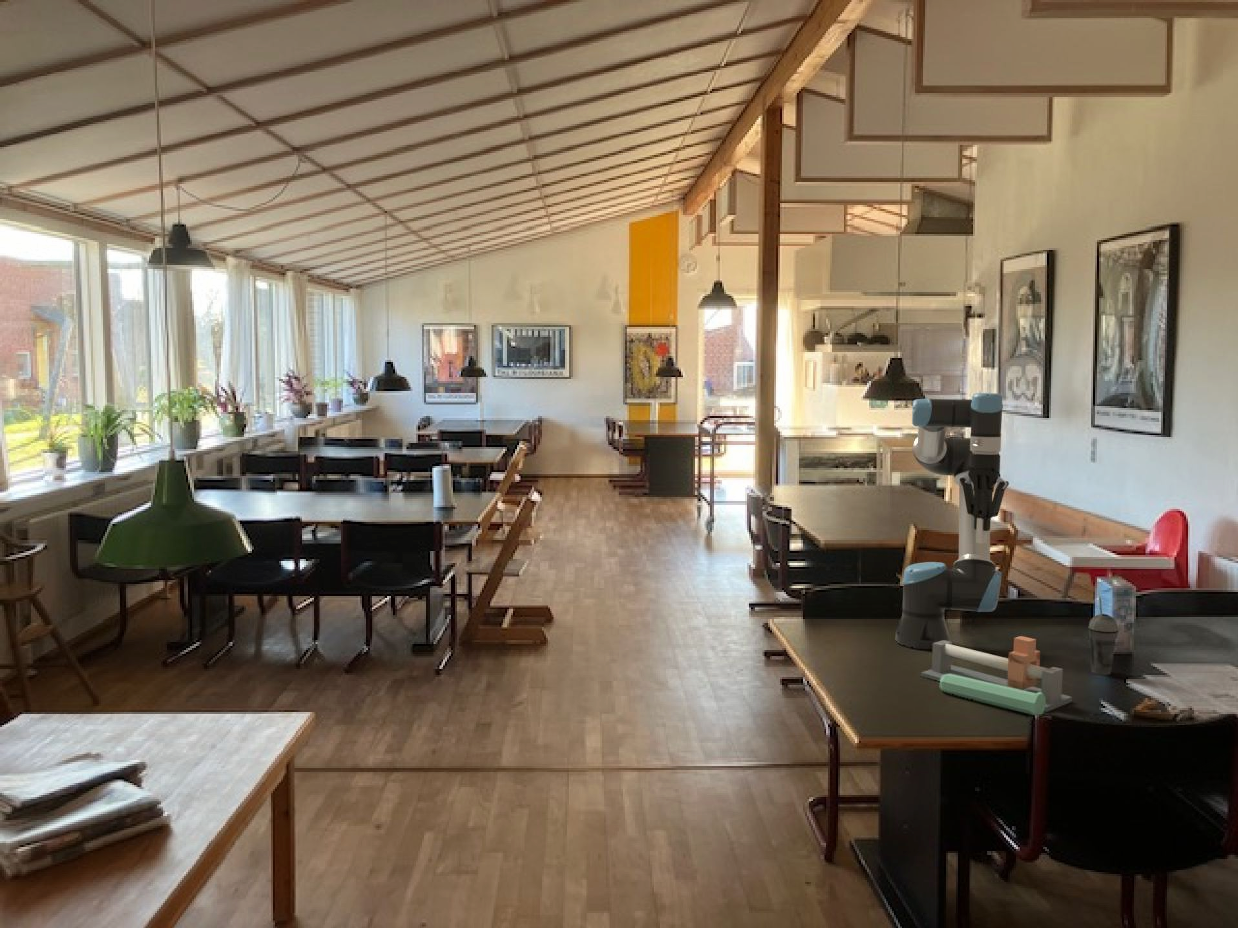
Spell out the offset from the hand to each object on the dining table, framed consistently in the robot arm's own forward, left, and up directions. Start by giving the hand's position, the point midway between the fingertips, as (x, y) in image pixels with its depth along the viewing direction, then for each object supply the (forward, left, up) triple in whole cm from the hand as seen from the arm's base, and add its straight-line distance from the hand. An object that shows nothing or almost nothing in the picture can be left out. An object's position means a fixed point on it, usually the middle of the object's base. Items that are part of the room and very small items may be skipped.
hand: (981, 542), depth 264 cm
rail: (+11, -10, -34) cm, 37 cm away
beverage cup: (+21, +25, -35) cm, 48 cm away
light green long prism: (+16, -20, -35) cm, 43 cm away
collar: (+19, -10, -31) cm, 38 cm away
